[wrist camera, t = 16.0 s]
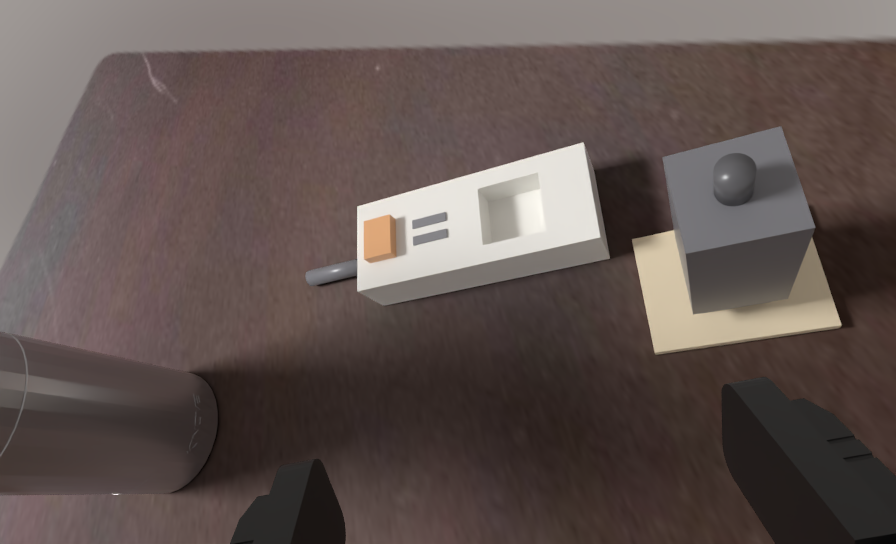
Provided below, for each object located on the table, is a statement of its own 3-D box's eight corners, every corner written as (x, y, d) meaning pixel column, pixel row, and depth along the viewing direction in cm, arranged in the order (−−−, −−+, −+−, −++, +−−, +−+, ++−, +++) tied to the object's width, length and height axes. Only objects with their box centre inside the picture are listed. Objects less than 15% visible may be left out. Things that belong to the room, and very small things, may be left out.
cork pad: (655, 354, 32) (654, 352, 32) (633, 242, 35) (631, 239, 34) (839, 328, 29) (841, 325, 29) (799, 207, 32) (800, 202, 31)
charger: (694, 323, 31) (683, 238, 21) (677, 251, 33) (659, 137, 22) (783, 309, 30) (823, 208, 19) (761, 233, 31) (785, 102, 21)
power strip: (314, 320, 43) (276, 304, 39) (316, 243, 45) (281, 221, 42) (610, 258, 35) (597, 231, 31) (593, 170, 38) (580, 135, 34)
